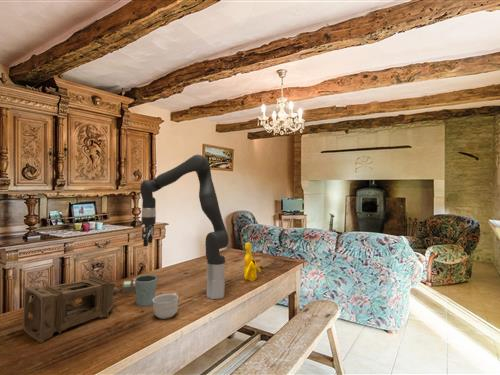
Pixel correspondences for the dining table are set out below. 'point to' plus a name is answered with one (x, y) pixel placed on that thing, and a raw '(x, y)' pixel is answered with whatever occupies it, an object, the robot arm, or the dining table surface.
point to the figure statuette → (250, 264)
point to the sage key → (127, 284)
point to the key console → (128, 289)
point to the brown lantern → (66, 305)
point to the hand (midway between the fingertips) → (147, 244)
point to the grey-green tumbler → (145, 289)
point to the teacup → (165, 305)
